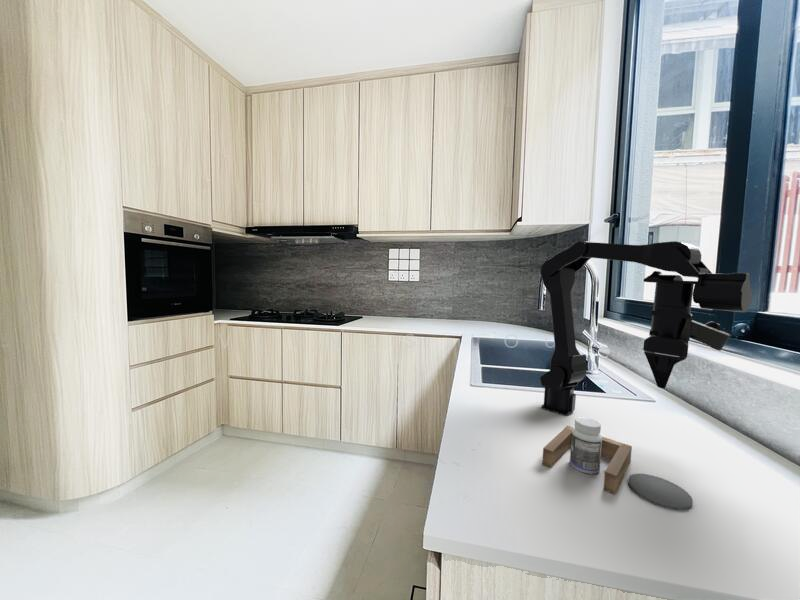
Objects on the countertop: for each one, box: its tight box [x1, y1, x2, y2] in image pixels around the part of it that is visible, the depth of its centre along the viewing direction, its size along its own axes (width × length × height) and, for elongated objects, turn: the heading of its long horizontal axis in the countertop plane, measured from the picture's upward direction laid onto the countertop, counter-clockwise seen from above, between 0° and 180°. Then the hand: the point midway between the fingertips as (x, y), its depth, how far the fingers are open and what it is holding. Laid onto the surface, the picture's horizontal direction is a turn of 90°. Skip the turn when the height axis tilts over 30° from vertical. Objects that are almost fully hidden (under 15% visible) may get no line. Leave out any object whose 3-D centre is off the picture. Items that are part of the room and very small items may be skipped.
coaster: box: [627, 473, 693, 511], centre depth 51 cm, size 8×8×1 cm
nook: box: [541, 425, 633, 495], centre depth 59 cm, size 11×14×3 cm
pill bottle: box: [569, 416, 603, 475], centre depth 58 cm, size 5×5×8 cm
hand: (662, 382), depth 65 cm, fingers open, 9 cm apart
